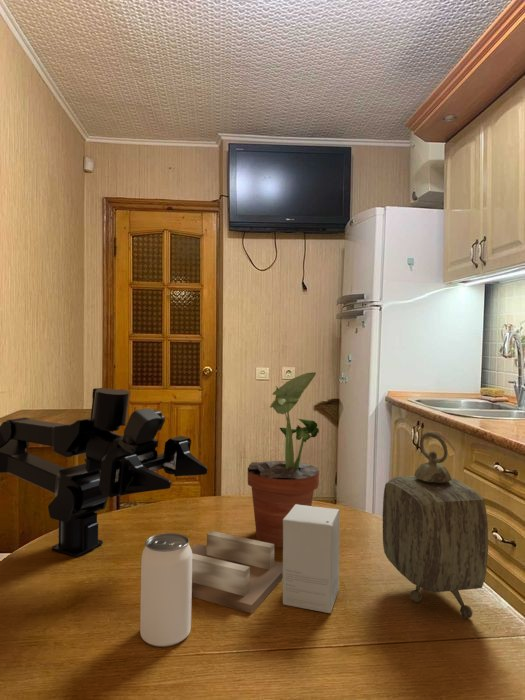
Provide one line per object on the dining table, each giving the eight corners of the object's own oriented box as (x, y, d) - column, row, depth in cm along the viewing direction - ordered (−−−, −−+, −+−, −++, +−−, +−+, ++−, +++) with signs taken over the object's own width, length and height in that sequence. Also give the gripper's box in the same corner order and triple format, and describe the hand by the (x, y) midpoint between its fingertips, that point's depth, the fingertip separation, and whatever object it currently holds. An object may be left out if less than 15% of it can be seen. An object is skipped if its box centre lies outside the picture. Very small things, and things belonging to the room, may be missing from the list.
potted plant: (336, 534, 96) (339, 359, 95) (289, 558, 84) (293, 360, 84) (276, 514, 106) (279, 357, 106) (227, 534, 94) (230, 357, 94)
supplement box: (340, 590, 74) (341, 508, 74) (330, 615, 67) (332, 525, 67) (293, 581, 76) (295, 502, 76) (280, 605, 69) (282, 518, 69)
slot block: (148, 584, 74) (148, 553, 74) (197, 550, 87) (197, 523, 87) (251, 613, 67) (252, 579, 67) (288, 571, 79) (289, 542, 79)
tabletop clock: (486, 625, 65) (490, 442, 65) (426, 631, 63) (430, 443, 63) (428, 574, 79) (432, 424, 79) (378, 579, 77) (381, 425, 77)
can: (180, 652, 58) (181, 554, 58) (131, 644, 59) (132, 548, 59) (197, 622, 64) (199, 533, 64) (153, 616, 66) (154, 529, 66)
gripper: (78, 412, 73) (154, 437, 66) (160, 401, 90) (228, 419, 82) (70, 482, 74) (145, 514, 67) (153, 458, 91) (220, 482, 83)
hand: (189, 477), depth 75 cm, fingers open, 9 cm apart
